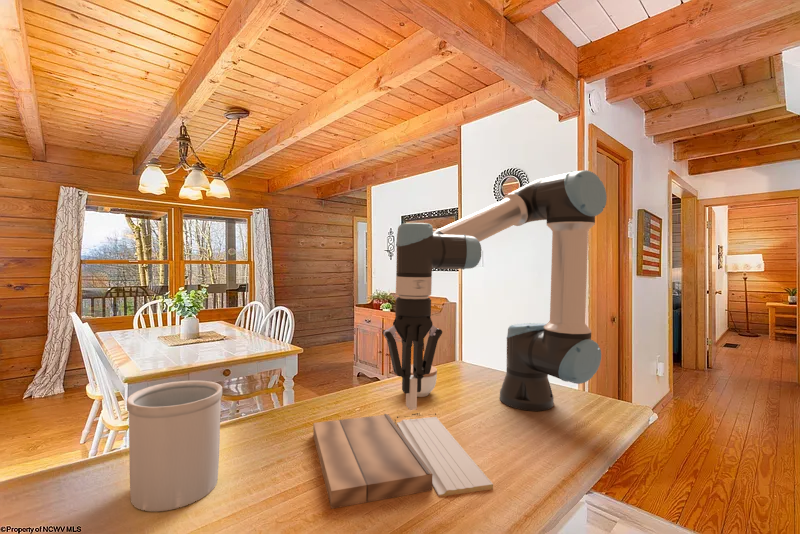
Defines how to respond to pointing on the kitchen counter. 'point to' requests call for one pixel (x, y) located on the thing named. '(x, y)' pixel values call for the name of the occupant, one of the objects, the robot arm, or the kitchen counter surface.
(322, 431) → the grooved tan panel
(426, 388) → the lidded jar
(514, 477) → the kitchen counter surface
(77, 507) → the kitchen counter surface
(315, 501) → the kitchen counter surface
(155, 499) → the utensil holder
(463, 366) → the kitchen counter surface
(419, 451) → the baseboard molding
